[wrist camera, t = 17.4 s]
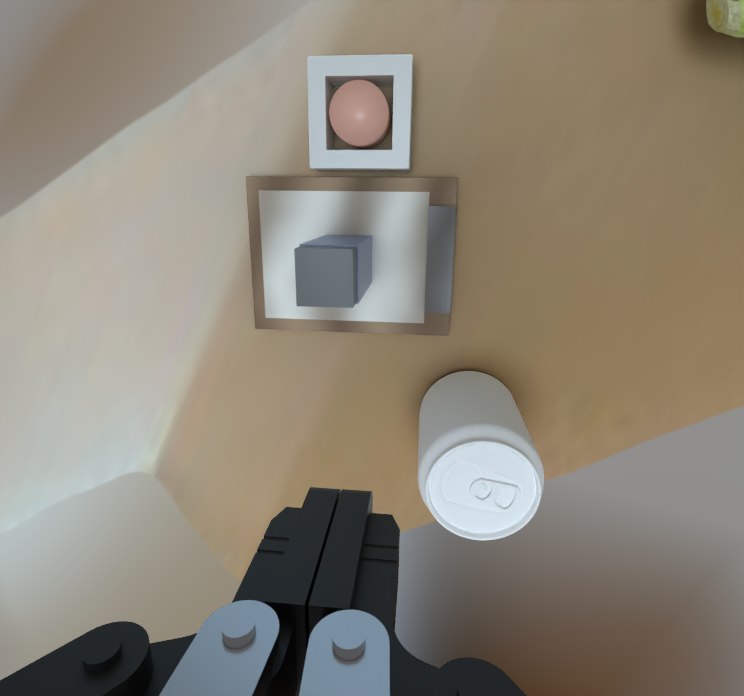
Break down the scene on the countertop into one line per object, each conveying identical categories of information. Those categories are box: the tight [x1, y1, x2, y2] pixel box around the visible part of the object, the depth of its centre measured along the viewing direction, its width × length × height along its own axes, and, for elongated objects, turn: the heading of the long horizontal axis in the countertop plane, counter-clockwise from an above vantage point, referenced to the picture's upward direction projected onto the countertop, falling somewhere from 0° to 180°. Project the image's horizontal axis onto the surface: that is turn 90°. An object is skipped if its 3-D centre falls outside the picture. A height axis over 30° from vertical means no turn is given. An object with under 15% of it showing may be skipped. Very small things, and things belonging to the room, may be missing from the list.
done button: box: [329, 80, 391, 149], centre depth 34 cm, size 4×4×3 cm
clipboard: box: [246, 177, 458, 336], centre depth 38 cm, size 16×12×2 cm
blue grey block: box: [294, 235, 372, 308], centre depth 33 cm, size 4×4×10 cm
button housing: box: [307, 54, 414, 171], centre depth 34 cm, size 7×7×3 cm
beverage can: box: [418, 371, 544, 540], centre depth 36 cm, size 8×8×12 cm
